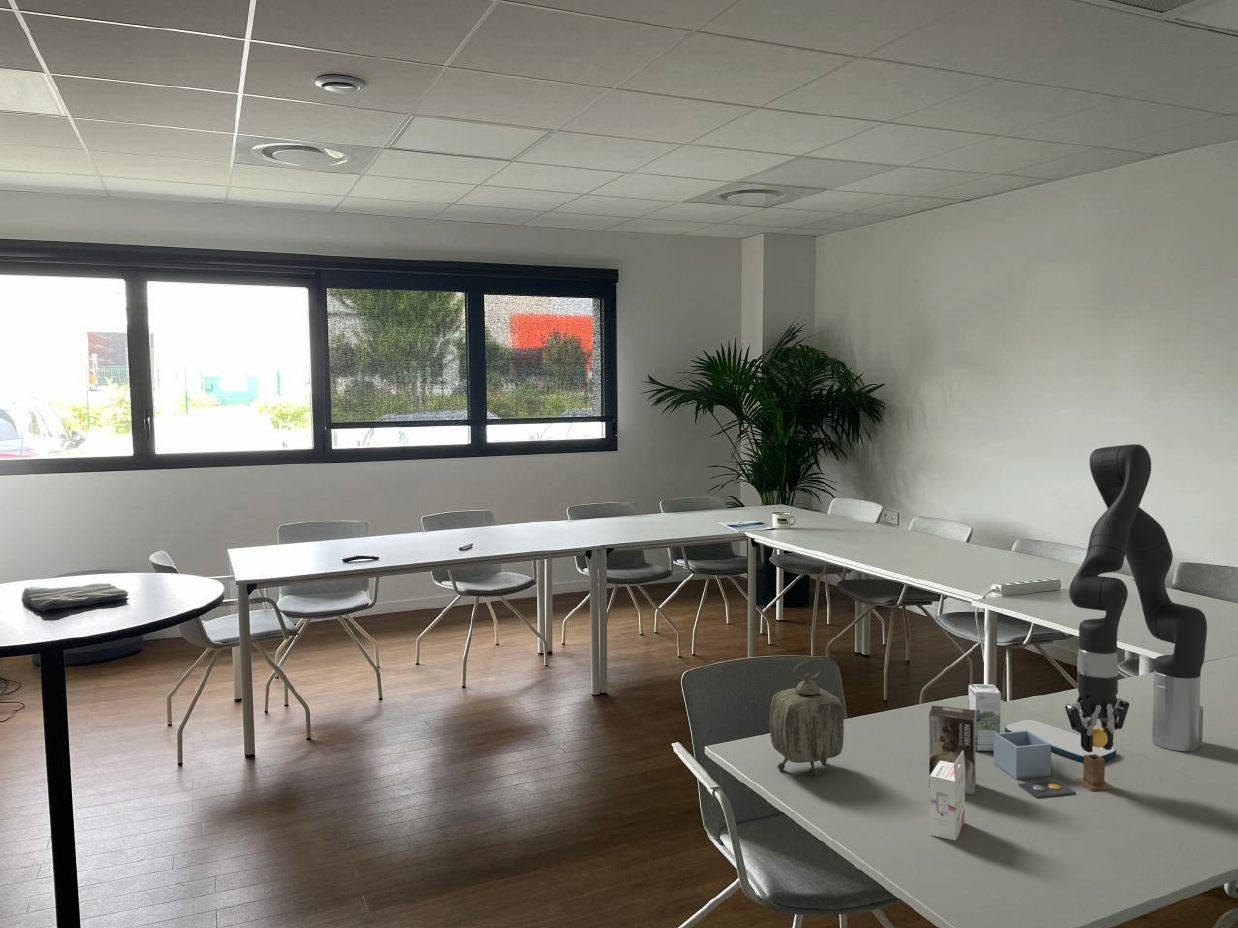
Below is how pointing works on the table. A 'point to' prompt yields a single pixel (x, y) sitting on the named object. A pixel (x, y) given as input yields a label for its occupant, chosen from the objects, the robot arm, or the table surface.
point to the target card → (1046, 788)
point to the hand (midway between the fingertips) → (1096, 749)
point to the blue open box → (1022, 754)
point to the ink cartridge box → (947, 798)
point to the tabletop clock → (806, 722)
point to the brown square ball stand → (1094, 773)
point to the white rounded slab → (1060, 740)
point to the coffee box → (953, 740)
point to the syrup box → (985, 714)
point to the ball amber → (1099, 737)
